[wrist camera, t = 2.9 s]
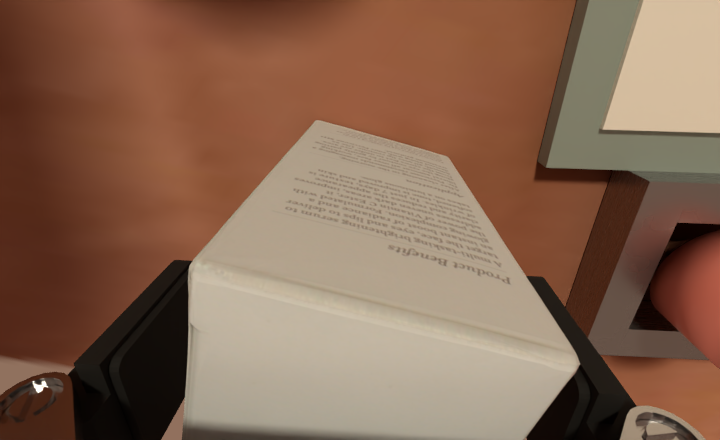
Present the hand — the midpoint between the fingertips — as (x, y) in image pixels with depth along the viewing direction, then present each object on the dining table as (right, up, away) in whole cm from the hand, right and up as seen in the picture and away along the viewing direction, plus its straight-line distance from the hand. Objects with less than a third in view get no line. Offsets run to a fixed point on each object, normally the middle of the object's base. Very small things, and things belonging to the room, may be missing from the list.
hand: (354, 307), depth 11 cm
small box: (0, +3, +5) cm, 6 cm away
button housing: (+14, +1, +5) cm, 15 cm away
